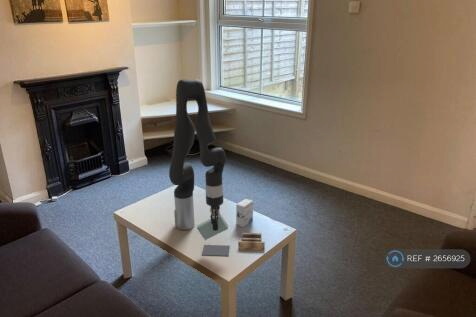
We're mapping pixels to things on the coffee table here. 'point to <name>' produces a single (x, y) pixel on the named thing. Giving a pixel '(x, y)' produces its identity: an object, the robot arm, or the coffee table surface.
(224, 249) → the rubber mat
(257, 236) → the walnut slot block
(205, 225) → the grey-green rectangular block
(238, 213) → the ink box
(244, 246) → the wooden bar
